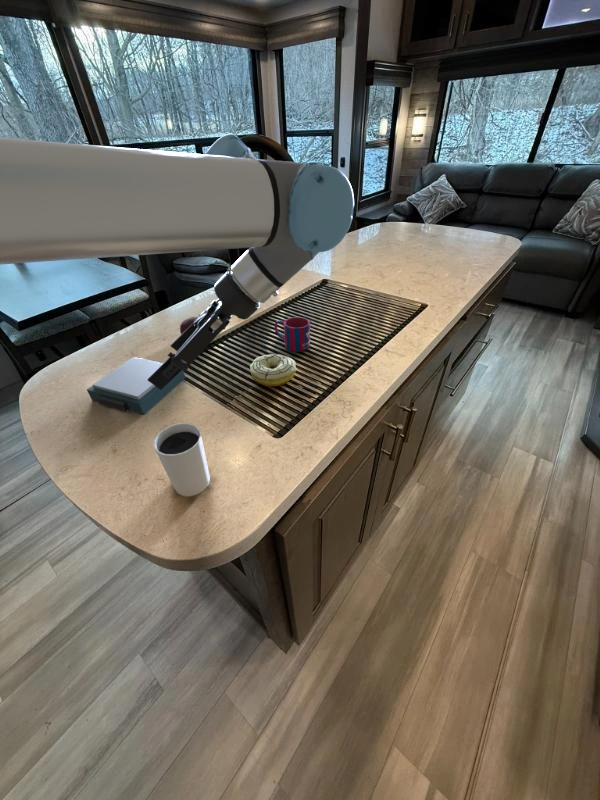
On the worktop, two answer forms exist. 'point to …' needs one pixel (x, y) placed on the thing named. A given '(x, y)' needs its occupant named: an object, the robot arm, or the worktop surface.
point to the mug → (295, 333)
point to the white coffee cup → (183, 458)
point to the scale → (132, 387)
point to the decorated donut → (273, 369)
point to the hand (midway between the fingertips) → (166, 365)
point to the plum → (187, 323)
